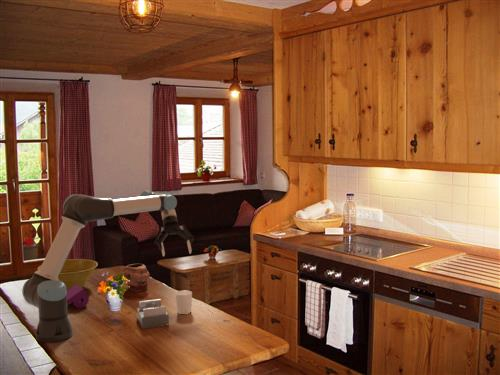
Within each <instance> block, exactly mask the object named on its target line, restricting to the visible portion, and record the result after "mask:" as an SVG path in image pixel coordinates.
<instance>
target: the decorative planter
mask: <svg viewBox="0 0 500 375" xmlns="http://www.w3.org/2000/svg"><path fill="white" fill-rule="evenodd" d="M146 266H147V265H145V264H143V263H132V264H128V265H126V266H125V267H124V270H123V271H124V272H123V278H124V277H126V278H127V279H128V280H130V282H128V283H127V282H126V285H127V287H128V286H130V290H129V291H132V292H142V291H145V290H147V288H148V279H149V278H150V276H151V275H150V272H149V271H148V269H147V267H146Z"/></svg>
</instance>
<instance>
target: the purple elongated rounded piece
mask: <svg viewBox="0 0 500 375" xmlns="http://www.w3.org/2000/svg"><path fill="white" fill-rule="evenodd" d="M89 300H90V299H89V295H88V294H87V292H86V290H85V288H84V287H80V286H78V285H75V286H73V287H72V288H71V289H69V290H68V291H67V306H68V305H69V304H70V305H73V306H74V307H75V308H78V309H81V308H85V307H86V306H87V304H88V303H89Z"/></svg>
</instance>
